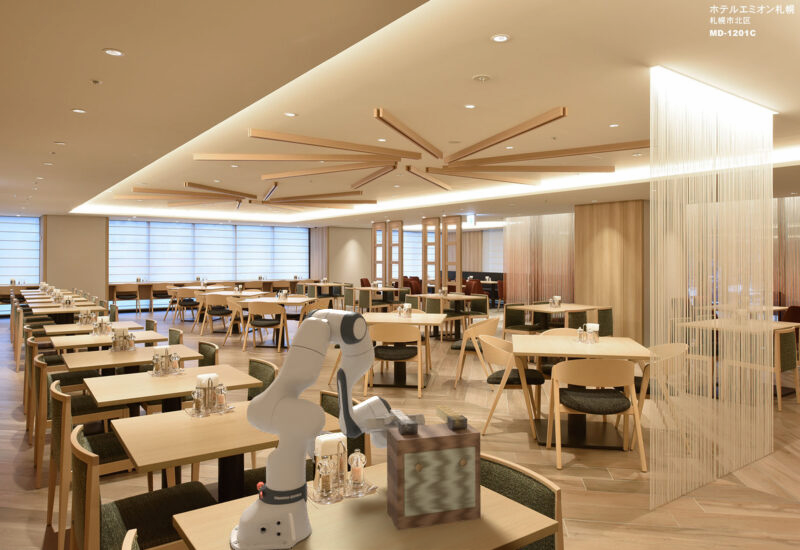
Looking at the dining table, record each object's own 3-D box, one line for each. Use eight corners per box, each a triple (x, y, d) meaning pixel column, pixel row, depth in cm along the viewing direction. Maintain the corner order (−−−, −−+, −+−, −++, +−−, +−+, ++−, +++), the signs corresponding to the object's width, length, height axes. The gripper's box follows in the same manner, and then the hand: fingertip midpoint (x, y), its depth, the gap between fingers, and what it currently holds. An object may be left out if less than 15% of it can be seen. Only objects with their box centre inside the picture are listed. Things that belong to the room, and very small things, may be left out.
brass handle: (452, 429, 162) (452, 420, 162) (433, 415, 178) (433, 406, 178) (467, 428, 163) (467, 418, 163) (447, 413, 179) (447, 405, 179)
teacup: (300, 454, 216) (300, 430, 216) (337, 455, 215) (336, 430, 215) (293, 466, 204) (292, 440, 204) (331, 466, 203) (331, 440, 203)
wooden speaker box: (399, 533, 151) (398, 442, 151) (387, 512, 165) (386, 428, 164) (483, 520, 159) (482, 434, 158) (465, 501, 172) (464, 421, 171)
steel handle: (401, 434, 157) (401, 424, 157) (387, 419, 174) (387, 410, 174) (417, 433, 159) (417, 423, 159) (402, 417, 175) (401, 408, 175)
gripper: (358, 421, 179) (366, 410, 167) (416, 416, 185) (427, 405, 173) (361, 440, 176) (368, 430, 164) (419, 434, 182) (431, 424, 170)
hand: (399, 417), depth 169 cm, fingers closed on steel handle, 3 cm apart
